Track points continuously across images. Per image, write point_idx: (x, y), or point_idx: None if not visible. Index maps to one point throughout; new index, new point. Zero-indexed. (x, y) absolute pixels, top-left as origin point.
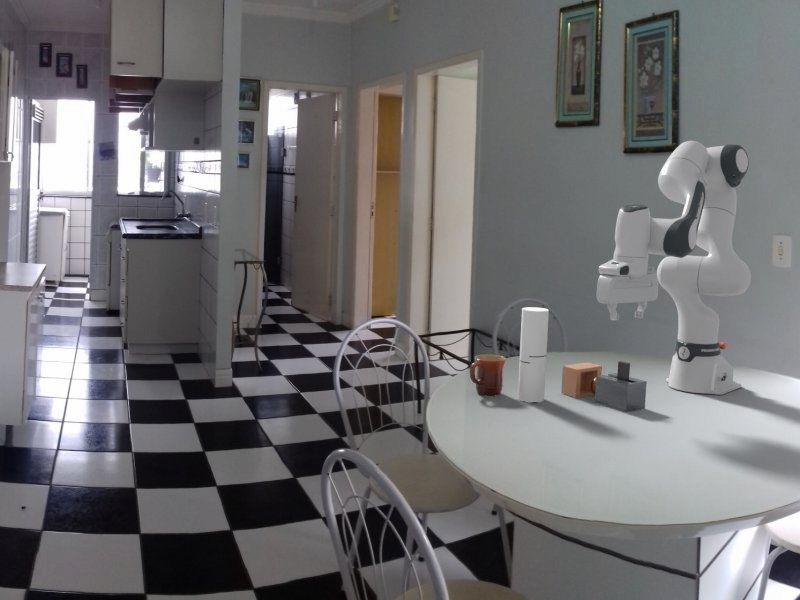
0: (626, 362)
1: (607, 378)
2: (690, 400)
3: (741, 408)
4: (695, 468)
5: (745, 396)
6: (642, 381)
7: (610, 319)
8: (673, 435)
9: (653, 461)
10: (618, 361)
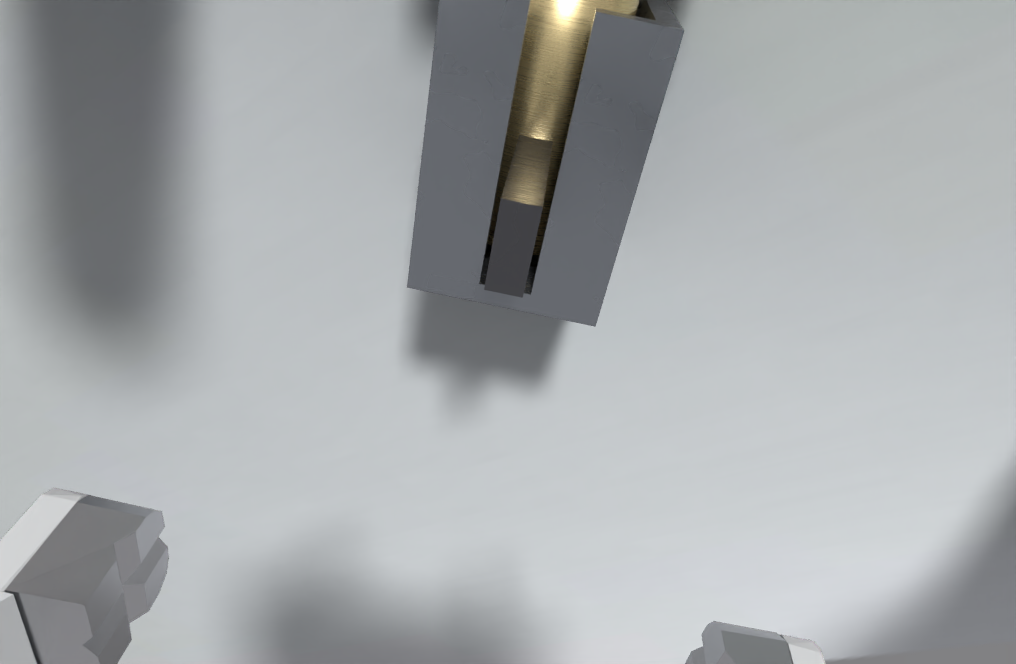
0: (522, 266)
1: (442, 98)
2: (961, 333)
3: (940, 521)
4: None
5: None
6: (572, 309)
7: (55, 494)
8: (320, 470)
9: None
10: (500, 200)
